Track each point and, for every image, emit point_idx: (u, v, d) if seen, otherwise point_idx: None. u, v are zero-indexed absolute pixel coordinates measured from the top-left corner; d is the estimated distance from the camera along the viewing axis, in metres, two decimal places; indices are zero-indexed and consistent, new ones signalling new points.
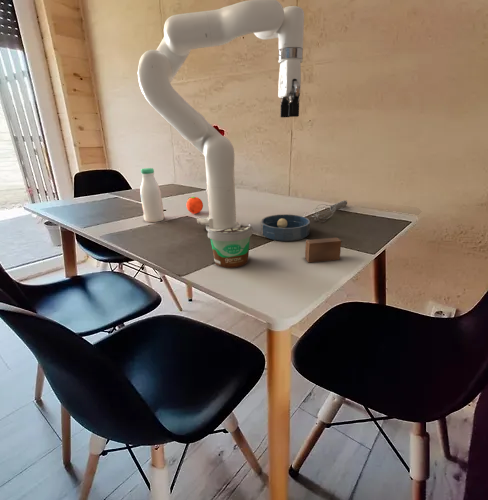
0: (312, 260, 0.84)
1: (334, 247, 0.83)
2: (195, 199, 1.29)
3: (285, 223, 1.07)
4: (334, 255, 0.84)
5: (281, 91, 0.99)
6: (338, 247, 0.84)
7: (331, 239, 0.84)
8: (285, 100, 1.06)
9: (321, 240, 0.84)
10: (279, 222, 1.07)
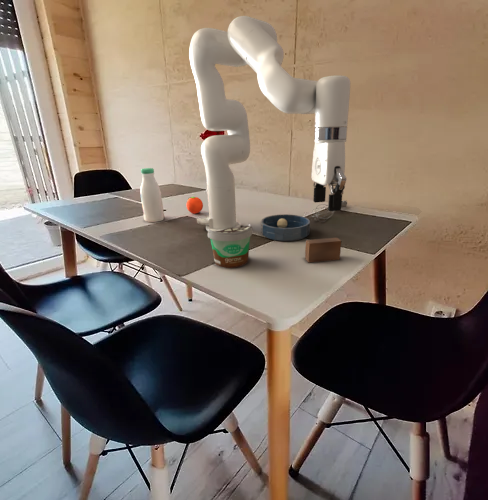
0: (312, 260, 0.84)
1: (334, 247, 0.83)
2: (195, 199, 1.29)
3: (285, 223, 1.07)
4: (334, 255, 0.84)
5: (317, 177, 0.77)
6: (338, 247, 0.84)
7: (331, 239, 0.84)
8: None
9: (321, 240, 0.84)
10: (279, 222, 1.07)
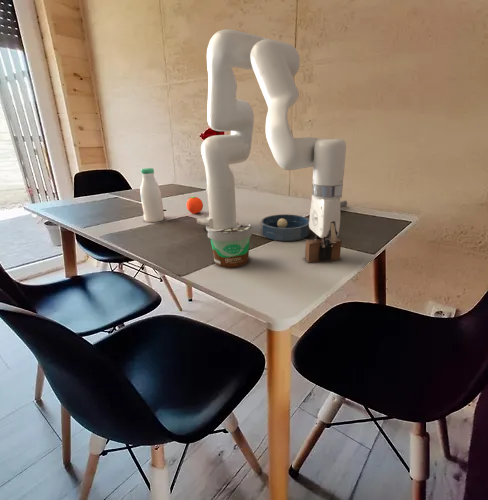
0: (312, 260, 0.84)
1: (334, 247, 0.83)
2: (195, 199, 1.29)
3: (285, 223, 1.07)
4: (334, 255, 0.84)
5: (314, 227, 0.82)
6: (338, 247, 0.84)
7: None
8: None
9: (321, 240, 0.84)
10: (279, 222, 1.07)
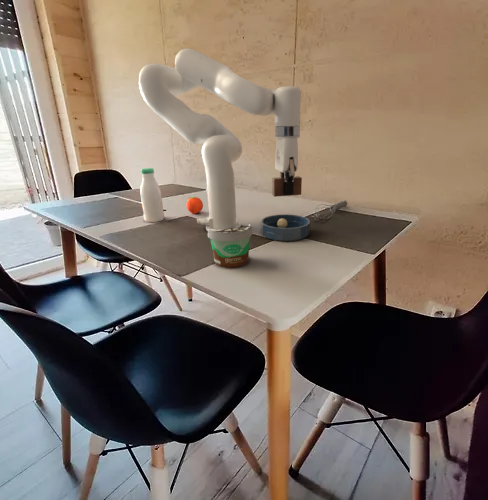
0: (277, 194, 0.99)
1: (296, 183, 0.99)
2: (195, 199, 1.29)
3: (285, 223, 1.07)
4: (296, 190, 1.00)
5: (278, 165, 0.97)
6: (299, 183, 0.99)
7: None
8: None
9: None
10: (279, 222, 1.07)
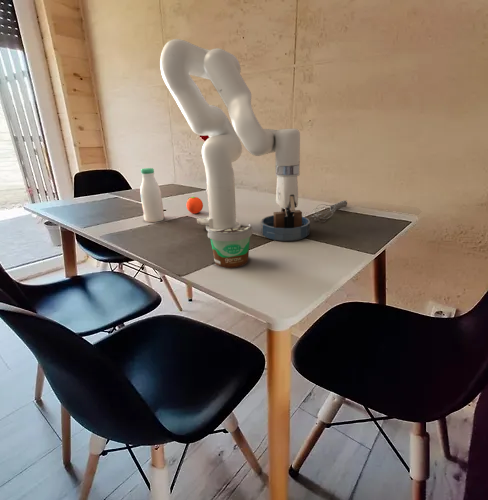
0: None
1: (296, 217, 1.03)
2: (195, 199, 1.29)
3: None
4: (296, 224, 1.04)
5: (279, 201, 1.01)
6: (299, 217, 1.03)
7: None
8: None
9: None
10: None
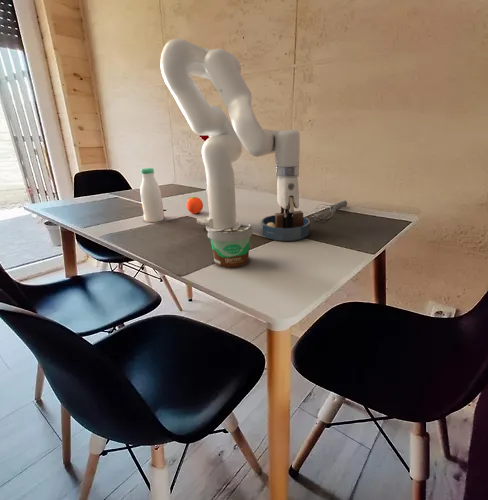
0: None
1: None
2: (195, 199, 1.29)
3: None
4: None
5: None
6: None
7: (282, 213, 1.03)
8: None
9: None
10: None
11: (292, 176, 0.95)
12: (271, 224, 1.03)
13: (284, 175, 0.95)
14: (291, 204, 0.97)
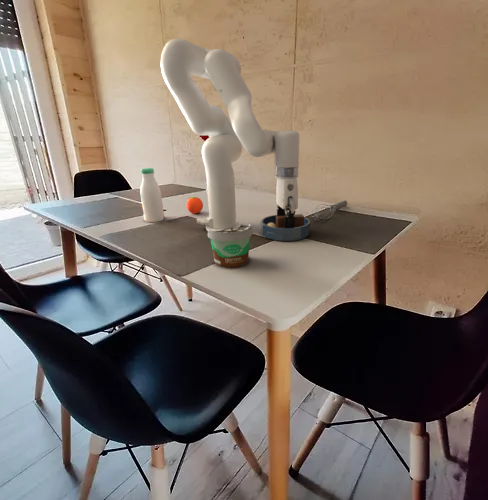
0: None
1: None
2: (195, 199, 1.29)
3: None
4: None
5: None
6: None
7: (283, 216, 1.03)
8: None
9: None
10: None
11: (291, 177, 0.95)
12: (272, 225, 1.03)
13: (283, 176, 0.95)
14: (291, 200, 0.95)
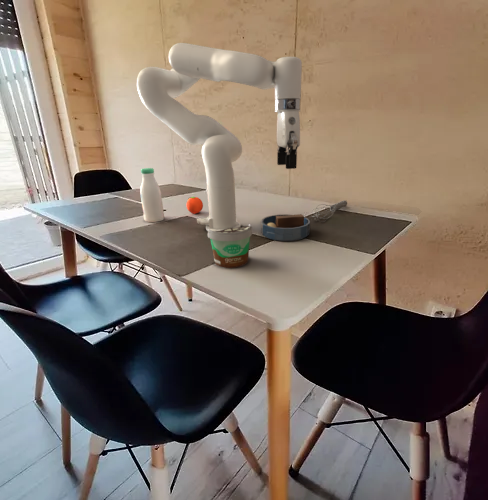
0: None
1: None
2: (195, 199, 1.29)
3: None
4: None
5: None
6: None
7: (283, 216, 1.03)
8: None
9: (291, 216, 1.04)
10: None
11: (293, 109, 0.88)
12: (272, 225, 1.03)
13: (284, 108, 0.88)
14: (293, 135, 0.88)
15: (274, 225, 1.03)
